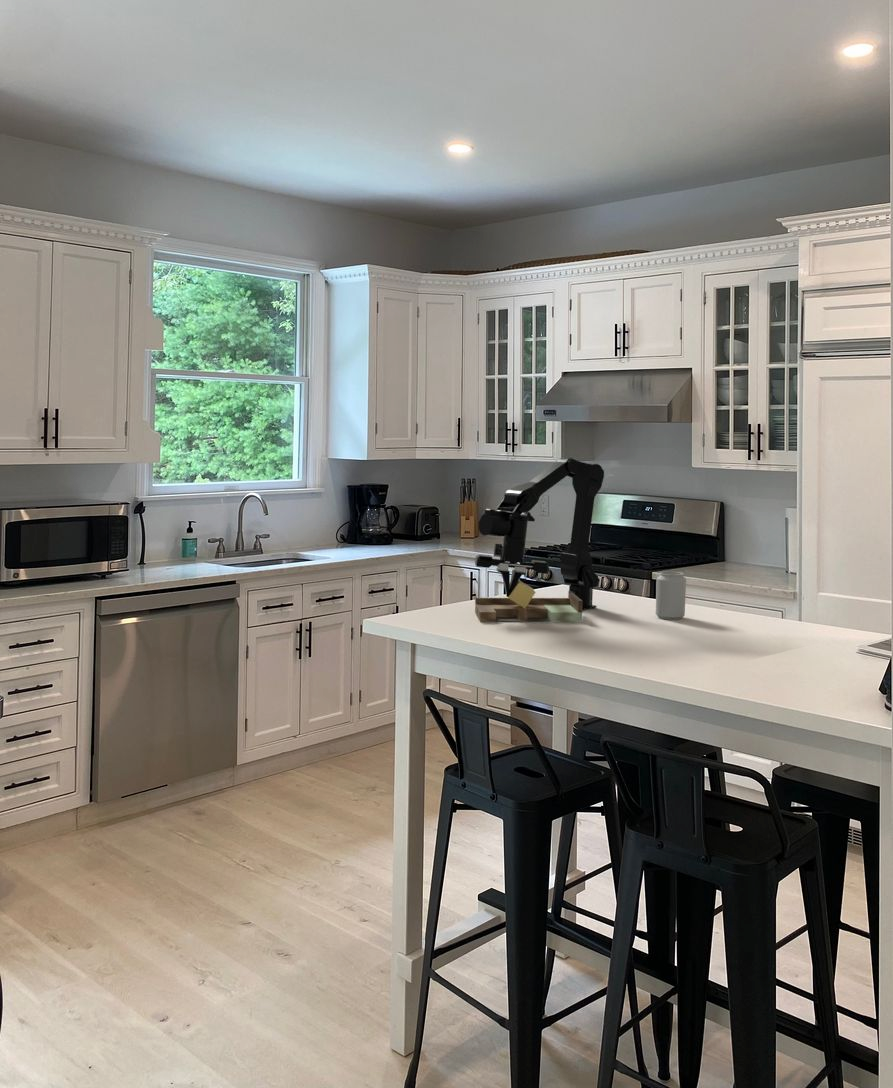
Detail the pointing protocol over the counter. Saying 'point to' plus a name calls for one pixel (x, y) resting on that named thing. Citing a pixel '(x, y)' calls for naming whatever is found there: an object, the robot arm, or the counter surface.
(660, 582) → the can
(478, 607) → the deck
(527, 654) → the counter surface
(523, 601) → the block
